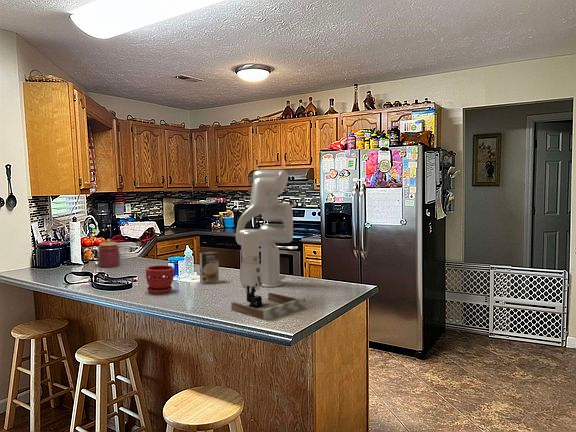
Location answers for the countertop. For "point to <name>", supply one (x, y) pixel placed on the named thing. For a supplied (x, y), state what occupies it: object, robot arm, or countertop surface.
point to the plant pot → (159, 278)
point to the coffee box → (209, 267)
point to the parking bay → (274, 311)
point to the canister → (108, 254)
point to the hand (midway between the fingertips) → (250, 301)
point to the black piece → (259, 302)
